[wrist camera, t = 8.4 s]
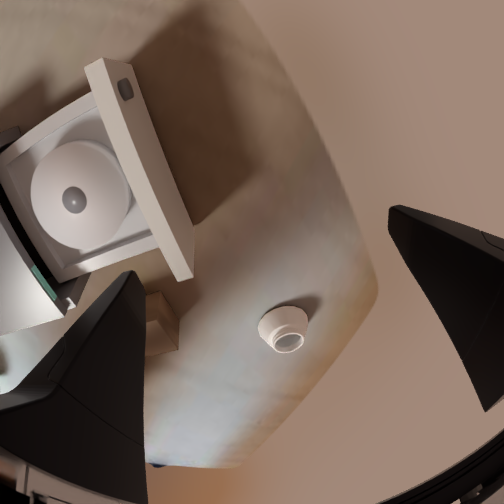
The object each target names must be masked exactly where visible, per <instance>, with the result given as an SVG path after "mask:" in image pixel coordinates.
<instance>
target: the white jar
mask: <svg viewBox="0 0 504 504" xmlns="http://www.w3.org/2000/svg"><path fill="white" fill-rule="evenodd" d="M307 326H308V317H307V314H306V313H305V312H304V311H303V310H302V309H300V308H298V307H295V306H283V307H279V308H276V309H273V310H272V311H270V312H268V313H267V314H265V315H264V316H263V318H262V319H261V320H260V321H259V325H258V331H259V334H260V337H262V338H263V339H264V340H265V341H266V342H267V343H268V344H269V345H270V346H271V347H273V348H274V350H276V351H277V352H280V353H288V352H292V351H294V350H296V349H298V348H299V347H301V346H302V344H303V342H304V337H305V335H306V331H307Z"/></svg>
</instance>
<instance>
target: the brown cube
mask: <svg viewBox="0 0 504 504" xmlns="http://www.w3.org/2000/svg"><path fill="white" fill-rule="evenodd" d="M178 341H179V320H178V318H177V317H176V315H175V314H174V312H173V310H172V309H171V307H170V306H169V304H168V303H167V301H166V299H165V298H164V296H163V294H162V293H161V291H159V292H156V293H152V294H149V295H146V347H145V357H148V356H152V355H157V354H162V353H166V352H170V351H175V350H178Z"/></svg>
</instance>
